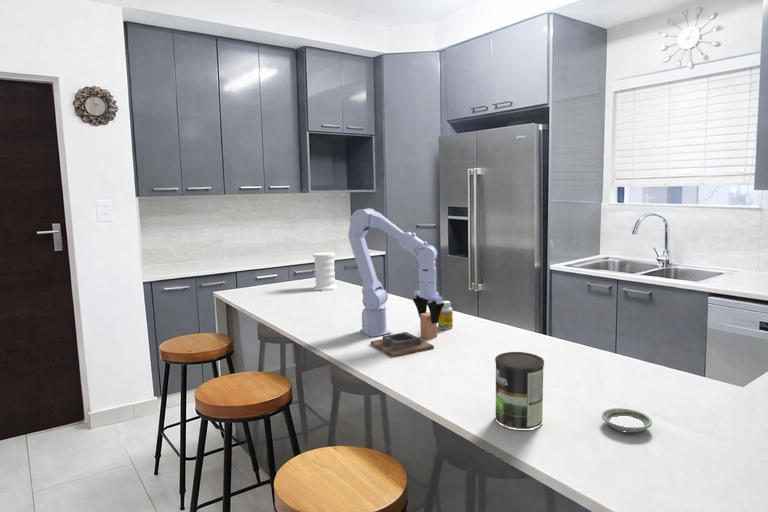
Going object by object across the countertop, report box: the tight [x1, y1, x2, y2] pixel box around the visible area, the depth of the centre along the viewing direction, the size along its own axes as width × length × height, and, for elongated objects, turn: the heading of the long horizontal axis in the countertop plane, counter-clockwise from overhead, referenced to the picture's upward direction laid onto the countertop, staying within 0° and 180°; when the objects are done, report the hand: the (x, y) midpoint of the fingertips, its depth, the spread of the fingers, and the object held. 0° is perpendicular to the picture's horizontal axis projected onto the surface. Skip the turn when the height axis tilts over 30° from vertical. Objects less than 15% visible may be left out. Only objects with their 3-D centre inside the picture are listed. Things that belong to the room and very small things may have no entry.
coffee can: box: [494, 351, 545, 429], centre depth 113 cm, size 10×10×14 cm
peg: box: [419, 311, 438, 340], centre depth 177 cm, size 4×4×8 cm
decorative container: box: [312, 251, 338, 291], centre depth 263 cm, size 12×12×18 cm
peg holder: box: [370, 331, 435, 358], centre depth 168 cm, size 15×15×3 cm
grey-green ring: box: [601, 407, 653, 433], centre depth 110 cm, size 10×10×2 cm
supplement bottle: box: [437, 300, 454, 330], centre depth 187 cm, size 5×5×10 cm
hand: (428, 320), depth 177 cm, fingers open, 7 cm apart
